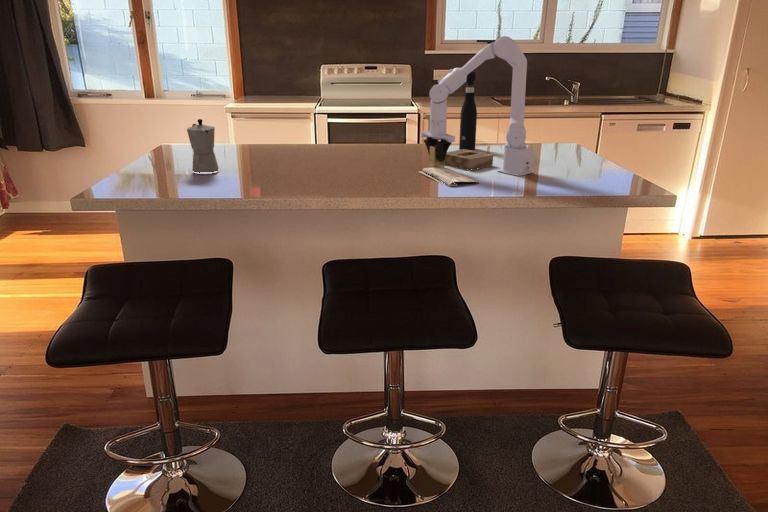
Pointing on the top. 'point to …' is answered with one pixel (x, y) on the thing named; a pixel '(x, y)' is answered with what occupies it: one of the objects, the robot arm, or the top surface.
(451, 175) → the newspaper
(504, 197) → the top surface
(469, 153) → the well block
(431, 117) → the robot arm
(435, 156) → the wooden block
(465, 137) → the wine bottle
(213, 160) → the coffeepot
